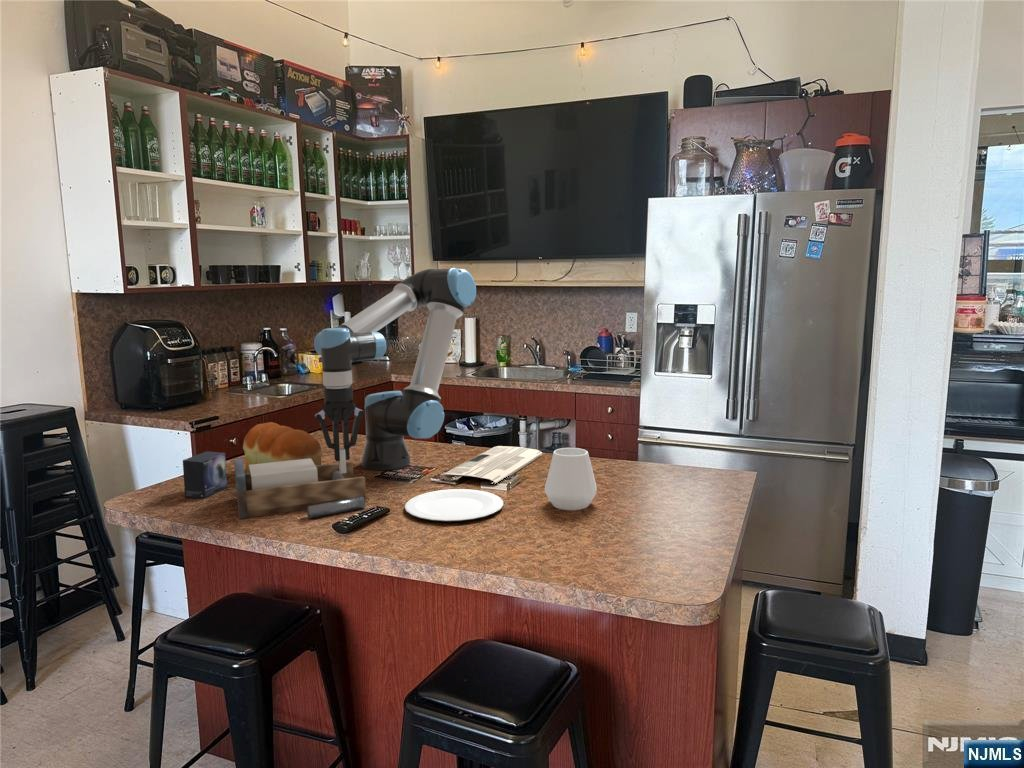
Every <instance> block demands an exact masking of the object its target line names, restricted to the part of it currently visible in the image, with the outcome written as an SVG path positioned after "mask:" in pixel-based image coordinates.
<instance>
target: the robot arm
mask: <svg viewBox="0 0 1024 768" xmlns="http://www.w3.org/2000/svg"><path fill="white" fill-rule="evenodd" d="M476 297H477V287H476V282H475V280H474V277H473V276H472V274H471V272H469V271H468V270H467V269H465V268H456V267H451V268H428V269H423V270H419V271H418V272H416V273H414V274H412V275H410V276H408V277H407V278H405V279H403V280H401V281H400V282H399V283H397V284H396V285H395V286H394V287H393V289H392V291H391V292H389V293H388V294H386V295H385V296H383V297H382V298H380V299H378V300H377V301H375V302H374V303H372V304H371V305H369V306H368V307H366V308H364V309H362V311H360V312H358V313H357V314H355V315H354V316H353V317H351V318H349V319H348V320H346V321H345V322H343V323H342V324H340V325H338V326H337V327H331V328H324V329H322V330H321V331H320V332H318V333H317V334H316V336H314V340H313V347H314V350H315V352H316V353H317V354H318V355H319V356H320V357H321V365H322V366H321V367H322V384H323V386H324V388H323V399H324V400H323V401H324V404H323V406H322V409H321V410H320V411H319V412H316V413H315V414H314V417H315V419H316V420H317V421H318V422H319V425H320V428H321V431H322V434H323V438H324V440H325V444H326V446H327V448H328V449H332V450H333V452H334V460H335V461H336V462H338V463H339V471H340V473H341V474H343V473H347V471H346V462H347V461H349V460H350V459H351V456H350V448H351V447H355V446H356V445H357V441H358V436H359V435H358V434H359V429H360V426H361V420H362V418H363V416H364V420H365V421H364V423H365V436H366V437H365V438H366V439H365V446H364V449H363V452H362V456H361V467H362V468H364V469H367V470H371V471H372V470H373V471H391V470H396V469H397V470H398V469H402V468H406V467H408V466H409V465H410V464H411V456H410V455H411V454H410V452H409V450H408V448H407V445H406V442H405V438H404V437H411V438H412V439H424V440H425V439H430V438H433V436H435V435H437V433H439V431H440V430H441V428H442V426H443V423H444V421H445V412H444V407H443V405H442V404H441V401H442V398H441V396H440V395H439V388H440V384H441V380H442V376H443V373H444V368H445V365H446V362H447V358H448V354H449V350H450V346H451V343H452V338H453V336H454V335H453V334H454V330H455V326H456V323H457V320H458V319H459V318H461V317H463V315H464V312H465V308H467V307H470V306H471V305H472V304H473V303H474V302H475V300H476ZM422 307H426V308H427V309H428V310H429V313H428V318H427V320H426V321H427V322H426V325H425V328H424V332H423V335H422V340H421V344H420V346H419V350H418V354H417V358H416V362H415V365H414V369H413V373H412V375H411V380H410V384H409V385H408V386H406V387H404V388H403V390H402V391H401V390H391V391H382V392H376V393H375V392H374V393H371V394H368V395H366V396H365V398H364V410H362V409H360V408H358V407H356V403H355V402H354V390H353V386H352V385H353V375H352V374H353V373H352V363H354V362H361V361H370V360H371V361H372V360H373V361H374V360H376V359H380V358H382V357H384V355H385V354H386V353H387V352H386V351H387V341H386V338H385V336H384V335H383V334H382V333H380V332H378V331H381V329H383V328H384V327H386V326H387V325H388V324H390V323H391V322H393V321H395V320H396V319H397V318H399V317H400V316H401V315H403V314H404V313H406V312H413V311H415V310H416V309H419V308H422ZM352 414H353V415H354V419H353V424H352V429H351V435H350V433H349V419H350V418H351V416H352ZM325 415H327V417H328V418H329V419H330V420H331V422H332V423H331V424H332V439H333V443H332V439H331V436H330V434H329V431H328V428H327V427H328V426H327V424H326V421H325V418H326V416H325ZM340 421H341V426H342V430H341V431H342V442H343V443H342V445H343V447H340V430H339V429H340V428H339V425H340V424H339V423H340Z"/></svg>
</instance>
